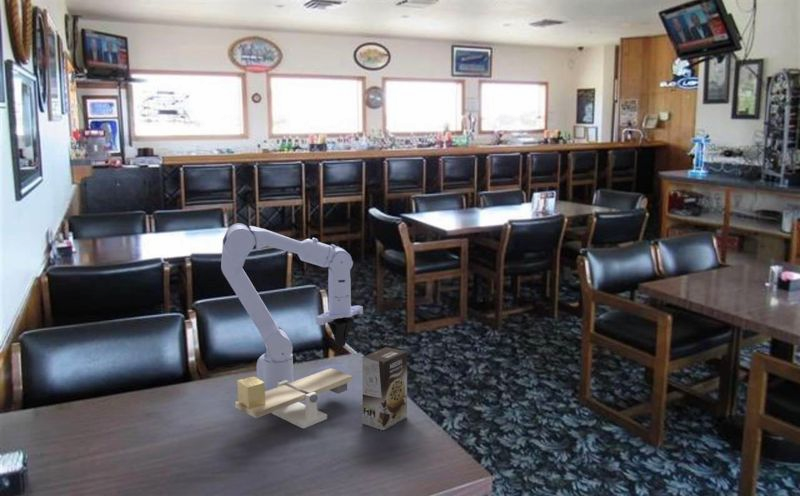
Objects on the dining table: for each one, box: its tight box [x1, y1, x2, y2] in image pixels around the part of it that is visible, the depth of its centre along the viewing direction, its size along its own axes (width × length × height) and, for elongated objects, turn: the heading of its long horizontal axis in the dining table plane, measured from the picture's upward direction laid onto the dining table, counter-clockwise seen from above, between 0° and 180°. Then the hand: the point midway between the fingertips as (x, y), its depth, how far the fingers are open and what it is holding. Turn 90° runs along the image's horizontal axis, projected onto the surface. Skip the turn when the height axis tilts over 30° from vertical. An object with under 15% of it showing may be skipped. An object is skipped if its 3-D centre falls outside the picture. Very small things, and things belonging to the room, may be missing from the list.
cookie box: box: [362, 346, 408, 431], centre depth 149 cm, size 9×6×16 cm
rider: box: [236, 375, 266, 409], centre depth 143 cm, size 5×5×4 cm
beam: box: [234, 367, 354, 419], centre depth 152 cm, size 8×28×4 cm, turn 137°
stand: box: [270, 380, 328, 429], centre depth 152 cm, size 13×7×7 cm, turn 47°
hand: (340, 345), depth 170 cm, fingers closed
